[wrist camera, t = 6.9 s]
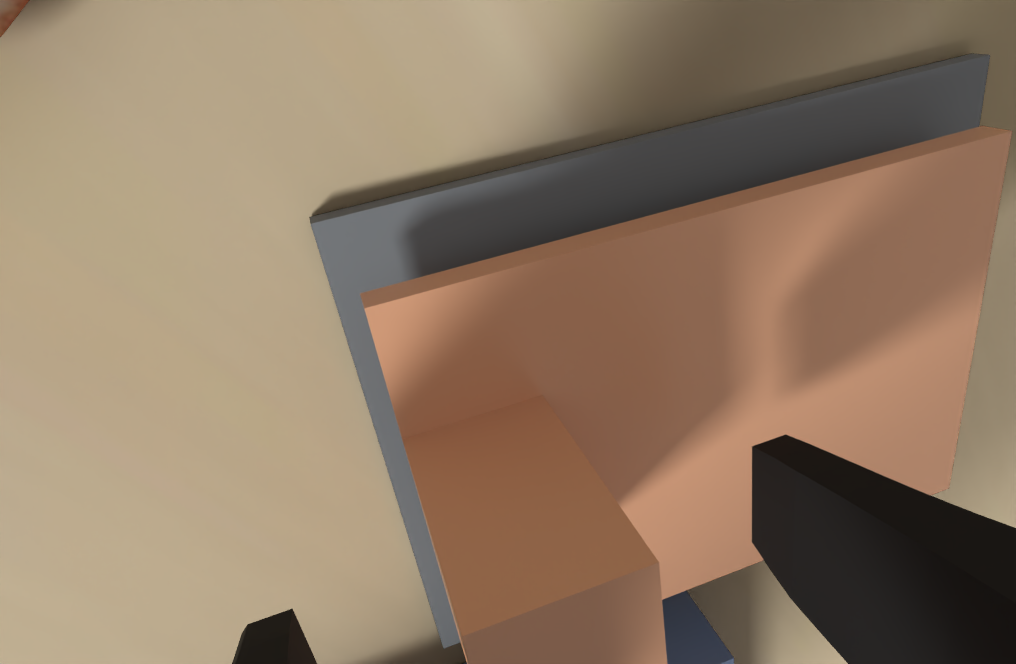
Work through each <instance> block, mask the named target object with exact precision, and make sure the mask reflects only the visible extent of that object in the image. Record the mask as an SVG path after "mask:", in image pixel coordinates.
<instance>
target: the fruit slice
mask: <svg viewBox="0 0 1016 664" xmlns="http://www.w3.org/2000/svg"><path fill="white" fill-rule="evenodd" d="M28 1H29V0H0V37H1V36H2V35H3V34H4V32H5V31H6V30H7V29H8V27H9V26H10V25H11V23H12V22H13V21H14V19H15V18H16V17H17V16H18V14H19V13H20V12H21V10H22V9H23V8H24V6H25V5H26V4H27V3H28Z"/></svg>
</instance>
